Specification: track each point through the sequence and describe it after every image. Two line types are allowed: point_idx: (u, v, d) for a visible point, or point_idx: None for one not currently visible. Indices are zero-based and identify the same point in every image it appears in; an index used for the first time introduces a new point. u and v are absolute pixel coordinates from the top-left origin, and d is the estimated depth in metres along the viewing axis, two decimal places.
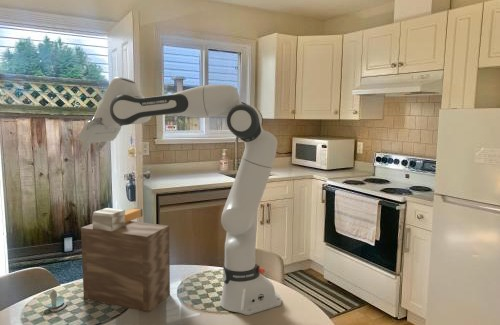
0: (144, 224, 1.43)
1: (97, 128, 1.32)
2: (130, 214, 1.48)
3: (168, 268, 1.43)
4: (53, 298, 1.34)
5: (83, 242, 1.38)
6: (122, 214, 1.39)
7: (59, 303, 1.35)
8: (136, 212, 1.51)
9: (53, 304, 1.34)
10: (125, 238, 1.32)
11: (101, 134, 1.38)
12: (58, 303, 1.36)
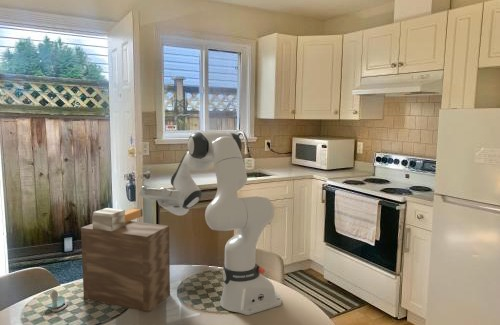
0: (144, 224, 1.43)
1: None
2: (130, 214, 1.48)
3: (168, 268, 1.43)
4: (54, 298, 1.34)
5: (83, 242, 1.38)
6: (122, 214, 1.39)
7: (60, 303, 1.35)
8: (136, 212, 1.51)
9: (54, 304, 1.34)
10: (125, 238, 1.32)
11: None
12: (59, 303, 1.35)
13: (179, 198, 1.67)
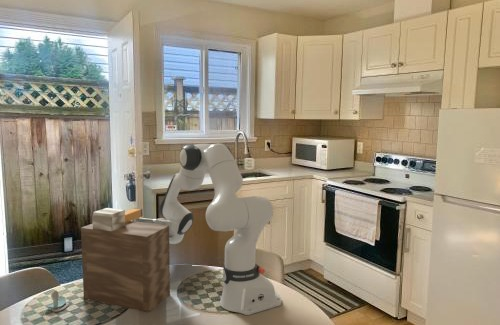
0: (144, 224, 1.43)
1: None
2: (130, 214, 1.48)
3: (168, 268, 1.43)
4: (55, 298, 1.34)
5: (83, 242, 1.38)
6: (122, 214, 1.39)
7: (61, 303, 1.35)
8: (136, 212, 1.51)
9: (55, 304, 1.34)
10: (125, 238, 1.32)
11: None
12: (60, 303, 1.35)
13: (173, 229, 1.62)
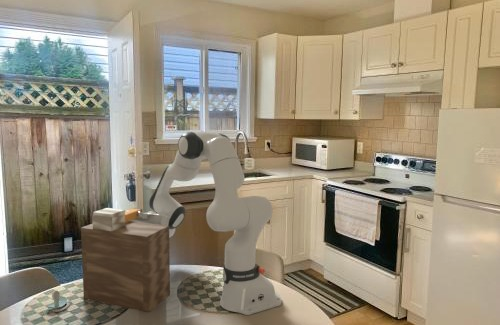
0: (144, 224, 1.43)
1: None
2: (130, 214, 1.48)
3: (168, 268, 1.43)
4: (56, 298, 1.33)
5: (83, 242, 1.38)
6: (122, 214, 1.39)
7: (62, 303, 1.35)
8: (136, 212, 1.51)
9: (56, 304, 1.34)
10: (125, 238, 1.32)
11: None
12: (61, 303, 1.35)
13: (162, 223, 1.55)
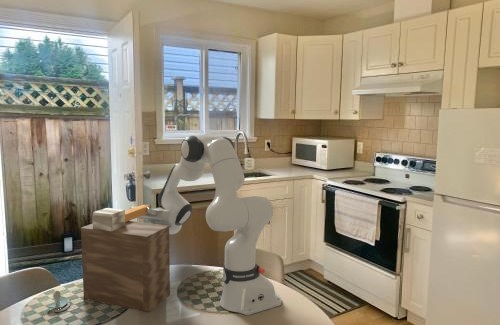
0: (144, 224, 1.43)
1: None
2: (140, 210, 1.54)
3: (168, 268, 1.43)
4: (57, 298, 1.33)
5: (83, 242, 1.38)
6: (122, 214, 1.39)
7: (63, 303, 1.35)
8: (145, 208, 1.57)
9: (57, 304, 1.34)
10: (125, 238, 1.32)
11: None
12: (62, 303, 1.35)
13: (170, 219, 1.61)
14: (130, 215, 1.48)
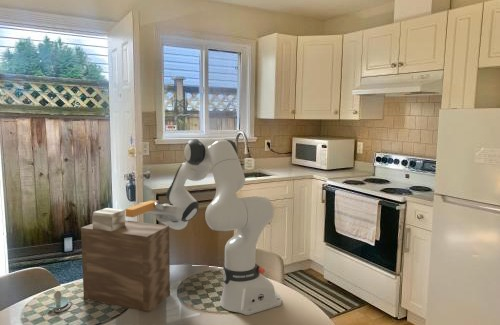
0: (144, 224, 1.43)
1: None
2: (148, 205, 1.59)
3: (168, 268, 1.43)
4: (57, 299, 1.33)
5: (83, 242, 1.38)
6: (122, 214, 1.39)
7: (63, 304, 1.35)
8: (153, 203, 1.62)
9: (57, 305, 1.34)
10: (125, 238, 1.32)
11: None
12: (62, 304, 1.35)
13: (177, 214, 1.66)
14: (139, 210, 1.53)
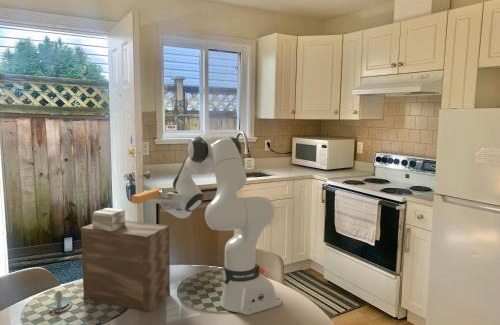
0: (144, 224, 1.43)
1: None
2: (153, 192, 1.62)
3: (168, 268, 1.43)
4: (58, 299, 1.33)
5: (83, 242, 1.38)
6: (122, 214, 1.39)
7: (64, 304, 1.35)
8: (158, 191, 1.66)
9: (58, 305, 1.34)
10: (125, 238, 1.32)
11: None
12: (63, 304, 1.35)
13: (182, 202, 1.69)
14: (145, 197, 1.56)
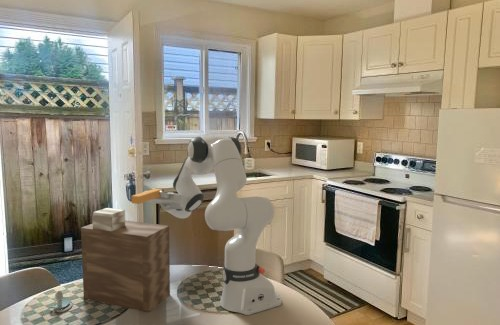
0: (144, 224, 1.43)
1: None
2: (153, 193, 1.62)
3: (168, 268, 1.43)
4: (59, 299, 1.33)
5: (83, 242, 1.38)
6: (122, 214, 1.39)
7: (65, 304, 1.35)
8: (158, 191, 1.66)
9: (59, 305, 1.34)
10: (125, 238, 1.32)
11: None
12: (64, 304, 1.35)
13: (182, 202, 1.69)
14: (145, 197, 1.56)
